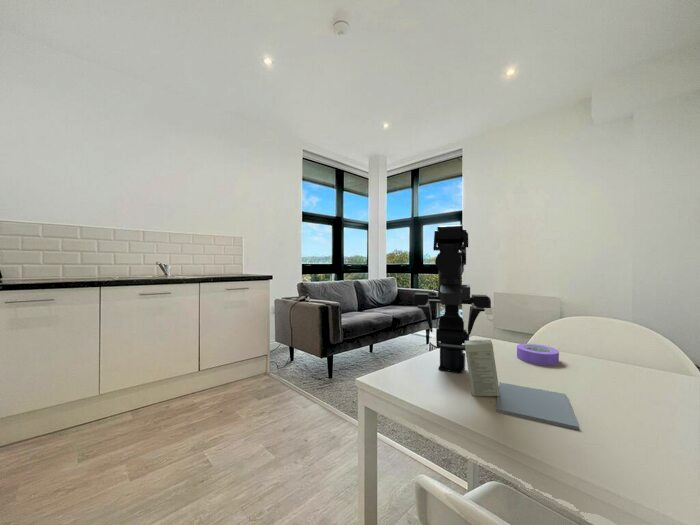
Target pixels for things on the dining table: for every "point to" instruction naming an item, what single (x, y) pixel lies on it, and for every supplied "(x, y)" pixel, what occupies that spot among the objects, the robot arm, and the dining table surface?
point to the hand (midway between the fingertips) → (449, 333)
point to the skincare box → (482, 368)
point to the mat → (536, 405)
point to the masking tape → (537, 354)
